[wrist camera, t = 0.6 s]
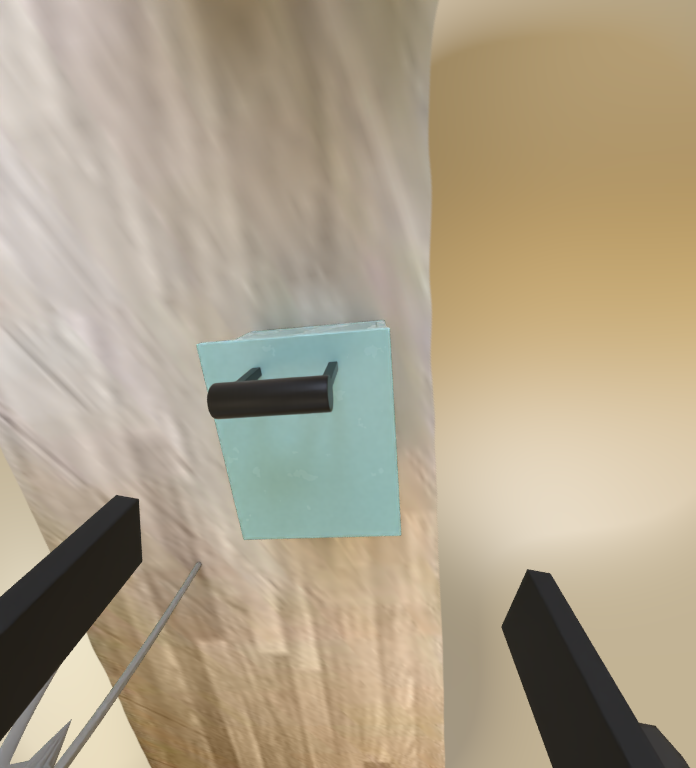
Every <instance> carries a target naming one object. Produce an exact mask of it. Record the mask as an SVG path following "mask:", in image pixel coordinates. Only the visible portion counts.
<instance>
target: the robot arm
mask: <svg viewBox="0 0 696 768" xmlns="http://www.w3.org/2000/svg"><path fill="white" fill-rule="evenodd" d="M141 562H142V547H141V530H140V513H139V499H135V498H130V497H124V496H119V495H116V496H115V497H114V498H112V499H111V500H110V501H109V502H108V503H107V504H106V505H104V506H103V507H102V508H101V509H100V510H99V511H98V512H96V513H95V514H94V515H93V516H92V517H91V518H90V519H88V520H87V521H86V522H85V523H84V524H83V525H82V526H81V527H79V528H78V529H77V530H76V531H75V532H74V533H73V534H71V535H70V536H69V537H68V538H67V539H66V540H65V541H63V542H62V543H61V544H60V545H59V546H58V547H57V548H55V549H54V550H53V551H52V552H51V553H50V554H49V555H47V557H45V558H44V559H43V560H42V561H41V562H39V563H38V564H37V565H36V566H35V567H34V568H33V569H32V570H31V571H29V572H28V573H27V574H26V575H25V576H24V577H22V579H20V580H19V581H18V582H17V583H16V584H14V585H13V586H12V587H11V588H10V589H9V590H8V591H7V592H5V593H4V594H3V595H2V596H1V597H0V741H1V740H2V738H3V737H4V736H5V735H6V733H7V732H8V731H9V730H10V728H11V727H12V726H13V724H14V723H15V722H16V721H17V719H18V718H19V717H20V716H21V714H22V713H23V712H24V711H25V709H26V708H27V707H28V705H29V704H30V703H31V702H32V700H33V699H34V698H35V697H36V695H37V694H38V693H39V692H40V690H41V689H42V688H43V686H44V685H45V684H46V683H47V681H48V680H49V679H50V678H51V676H52V675H53V674H54V673H55V671H56V670H57V669H58V667H59V666H60V665H61V664H62V662H63V661H64V660H65V659H66V657H67V656H68V655H69V654H70V652H71V651H72V650H73V648H74V647H75V646H76V645H77V643H78V642H79V641H80V640H81V638H82V637H83V636H84V635H85V633H86V632H87V631H88V630H89V628H90V627H91V626H92V624H93V623H94V622H95V621H96V619H97V618H98V617H99V616H100V614H101V613H102V612H103V611H104V609H105V608H106V607H107V605H108V604H109V603H110V602H111V600H112V599H113V598H114V597H115V595H116V594H117V593H118V592H119V590H120V589H121V588H122V586H123V585H124V584H125V583H126V581H127V580H128V579H129V578H130V576H131V575H132V574H133V573H134V571H135V570H136V569H137V567H138V566H139V565H140V564H141ZM502 630H503V633H504V635H505V638H506V641H507V644H508V646H509V649H510V652H511V655H512V657H513V660H514V663H515V665H516V668H517V671H518V674H519V677H520V679H521V682H522V685H523V687H524V690H525V693H526V695H527V699H528V701H529V704H530V707H531V710H532V712H533V715H534V718H535V720H536V723H537V726H538V729H539V731H540V734H541V737H542V740H543V742H544V745H545V748H546V751H547V753H548V756H549V759H550V762H551V764H552V767H553V768H690V767H689V766H688V764H687V763H686V761H685V760H684V758H683V757H682V756H681V754H680V753H679V752H678V751H677V750H676V749H675V748H674V747H673V745H672V744H671V743H670V742H669V741H668V740H667V739H666V737H665V736H664V735H663V734H662V733H661V732H660V731H659V730H658V729H657V727H656V726H653V725H648V724H642V723H639V722H638V721H637V719H636V717H635V716H634V714H633V712H632V711H631V709H630V707H629V705H628V704H627V702H626V700H625V699H624V697H623V695H622V694H621V692H620V690H619V689H618V687H617V685H616V684H615V682H614V680H613V678H612V677H611V675H610V673H609V672H608V670H607V668H606V667H605V665H604V663H603V662H602V660H601V658H600V657H599V655H598V653H597V651H596V650H595V648H594V646H593V645H592V643H591V641H590V640H589V638H588V636H587V635H586V633H585V631H584V629H583V628H582V626H581V624H580V623H579V621H578V619H577V618H576V616H575V615H574V613H573V611H572V609H571V608H570V606H569V604H568V603H567V601H566V599H565V597H564V596H563V595H562V592H561V591H560V589H559V587H558V586H557V584H556V582H555V581H554V579H553V577H552V576H551V574H550V573H545V572H539V571H534V570H528V569H527V571H526V573H525V576H524V578H523V580H522V582H521V585H520V587H519V589H518V591H517V594H516V596H515V598H514V600H513V602H512V604H511V607H510V609H509V611H508V613H507V616H506V618H505V620H504V622H503V624H502Z"/></svg>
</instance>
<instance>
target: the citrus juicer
mask: <svg viewBox="0 0 696 768" xmlns="http://www.w3.org/2000/svg"><path fill="white" fill-rule="evenodd" d="M200 567H201V563H200V562H197V563H196V565H195V566H194V568H193V569H192V571H191V572H190V574H189V576H188V577H187V579H186V580H185V582H184V584H183V585H182V587H181V588H180V590H179V591H178V593H177V594H176V596H175V597H174V599H173V600H172V602H171V604H170V605H169V607H168V608H167V610H166V611H165V613H164V614H163V616H162V617H161V619H160V620H159V622H158V623H157V625H156V626H155V628H154V629H153V631H152V632H151V634H150V635H149V637H148V638H147V639H146V641H145V642H144V644H143V645H142V647H141V648H140V650H139V651H138V652H137V654H136V655H135V657H134V658H133V660H132V661H131V663H130V664H129V665H128V667H127V668H126V670H125V671H124V673H123V674H122V675H121V677H120V678H119V680H118V681H117V682H116V684H115V685H114V687H113V688H112V689H111V691H110V693H109V694H108V695H107V697H106V698H105V699H104V701H103V702H102V704H101V705H100V706H99V708H98V709H97V710H96V712H95V713H94V715H93V716H92V717H91V719H90V720H89V721H88V723H87V724H86V725H85V727H84V728H83V729H82V731H81V732H80V733H79V735H78V736H77V737H76V739H75V740H74V741H73V743H72V744H71V745H70V747H69V748H68V749H67V750H66V752H65V753H64V754H63V756H62V757H61V758H60V760H59V761H58V763H57V764H56V765H55V763H56V760H57V758H58V755H59V752H60V750H61V747H62V745H63V742H64V739H65V736H66V734H67V731H68V728H69V725H70V722H71V721H69V722H68V723H67V724H66V725H65V726H64V727H63V728H62V729H61V730H60V731H59V732H58V733H57V734H56V735H55V736H54V737H53V738H51V739H50V740H49V741H48V742H47V743H46V744H45V745H44V746H43V747H42V748H41V749H40V750H39V751H38V752H37V753H36V754H35V755H34V756H33V757H32V758H31V759H30V760H29V761H25V762H20V763H16V764H11V765H10V761H11V758H12V756H13V754H14V752H15V750H16V748H17V745H18V743H19V741H20V739H21V737H22V735H23V733H24V731H25V729H26V726H27V724H28V722H29V721H30V719H31V717H32V715H33V713H34V711H35V709H36V707H37V705H38V704H39V702H40V700H41V698H42V696H43V695H44V692H45V691H46V689H47V687H48V686H49V684H50V682H51V680H52V679H53V677H54V675H55V673H56V671H57V670H58V669H57V670H56V671H55V673H54V674H53V675H52V676H51V678H50V679H49V680H48V681H47V683H46V684H45V685H44V686H43V688H42V689H41V690H40V692H39V693H38V694H37V695H36V697H35V698H34V699H33V700H32V702H31V703H30V704H29V705H28V707H27V708H26V709H25V711H24V712H23V713H22V714H21V716H20V717H19V718H18V719H17V721H16V722H15V723H14V725H13V727H12V728H11V730H10V732H9V734H8V736H7V737H6V739H5V741H4V742H3V744H2V746H1V748H0V768H68V767H69V765H70V764H71V763H72V761H73V760H74V759H75V757H76V756H77V754H78V753H79V752H80V750H81V749H82V747H83V746H84V745H85V743H86V742H87V740H88V739H89V737H90V736H91V734H92V733H93V732H94V731H95V729H96V728H97V726H98V725H99V723H100V722H101V721H102V719H103V718H104V716H105V715H106V713H107V712H108V710H109V709H110V707H111V706H112V705H113V703H114V702H115V700H116V699H117V697H118V696H119V694H120V693H121V691H122V690H123V688H124V687H125V685H126V684H127V682H128V681H129V679H130V678H131V676H132V675H133V673H134V672H135V670H136V669H137V667H138V666H139V664H140V663H141V661H142V660H143V658H144V657H145V655H146V654H147V652H148V651H149V649H150V648H151V646H152V644H153V643H154V641H155V640H156V638H157V637H158V635H159V633H160V632H161V630H162V629H163V627H164V625H165V624H166V622H167V621H168V619H169V617H170V615H171V614H172V612H173V610H174V609H175V607H176V605H177V604H178V602H179V601H180V599H181V598H182V596H183V594H184V593H185V591H186V590H187V588H188V587H189V585H190V583H191V582H192V580H193V578H194V577H195V575H196V573H197V572H198V570H199V568H200ZM59 667H60V666H59ZM59 667H58V668H59ZM54 765H55V766H54Z"/></svg>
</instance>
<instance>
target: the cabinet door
mask: <svg viewBox="0 0 696 768" xmlns="http://www.w3.org/2000/svg"><path fill="white" fill-rule="evenodd" d="M196 346H197V350H198V354H199V359H200V363H201V367H202V371H203V375H204V379H205V383H206V387H207V391H208V396H207V404H208V409H209V412H210V414H211V416H212V417H213V418H214V420H215V424H216V428H217V432H218V436H219V440H220V445H221V449H222V453H223V457H224V461H225V465H226V469H227V473H228V477H229V481H230V486H231V490H232V494H233V498H234V502H235V506H236V510H237V514H238V518H239V522H240V527H241V531H242V535H243V539H244V540H253V539H291V538H329V537H368V536H401V519H400V501H399V484H398V466H397V448H396V430H395V412H394V394H393V377H392V359H391V341H390V328H389V327H380V328H368V329H356V330H345V331H333V332H321V333H309V334H298V335H286V336H274V337H262V338H251V339H239V340H227V341H215V342H204V343H199V344H197V345H196Z"/></svg>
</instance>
